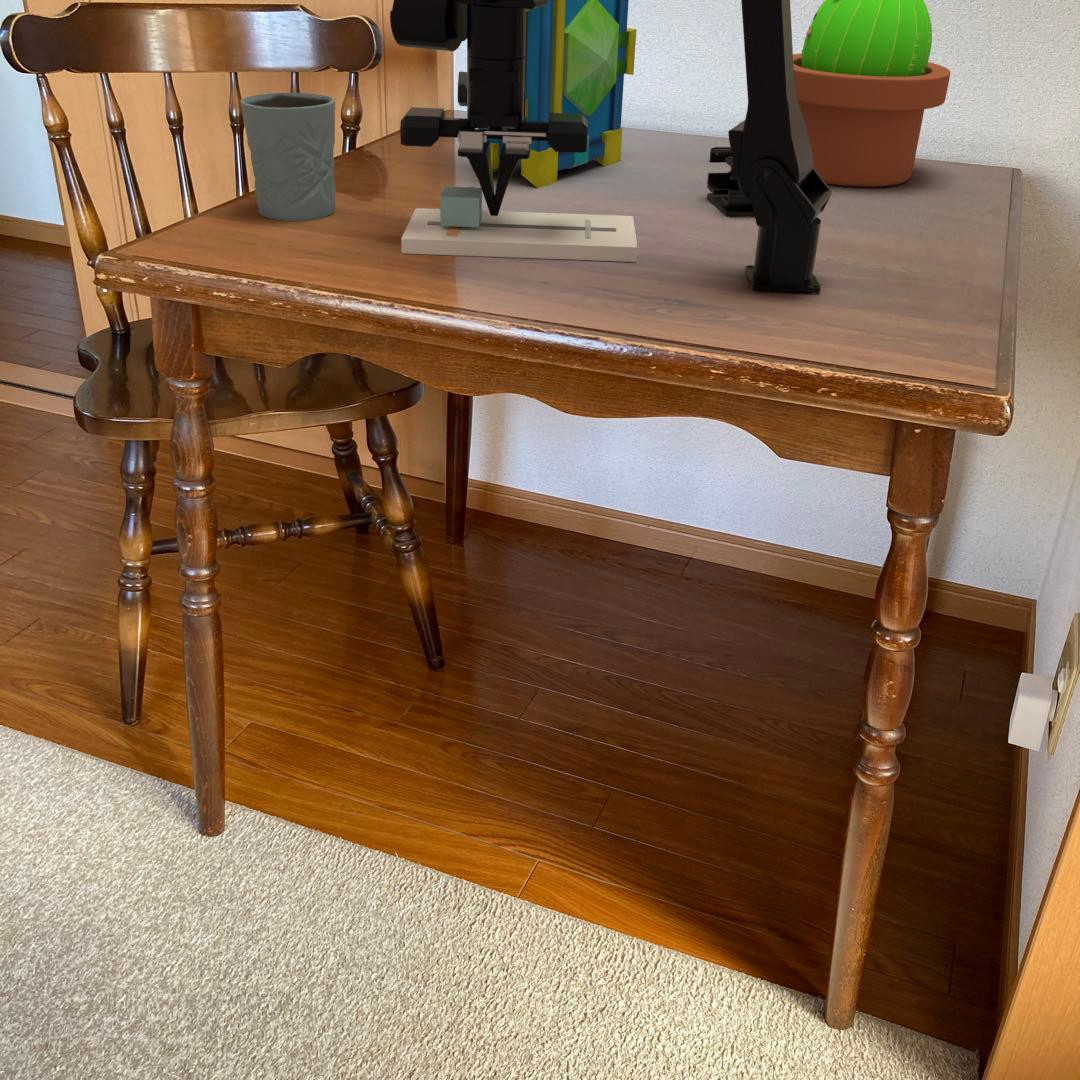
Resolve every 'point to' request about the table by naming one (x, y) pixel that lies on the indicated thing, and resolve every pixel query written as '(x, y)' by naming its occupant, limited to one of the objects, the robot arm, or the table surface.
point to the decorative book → (575, 80)
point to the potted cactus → (867, 88)
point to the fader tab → (461, 206)
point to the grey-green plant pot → (292, 154)
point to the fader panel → (525, 236)
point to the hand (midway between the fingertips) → (494, 215)
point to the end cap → (727, 187)
